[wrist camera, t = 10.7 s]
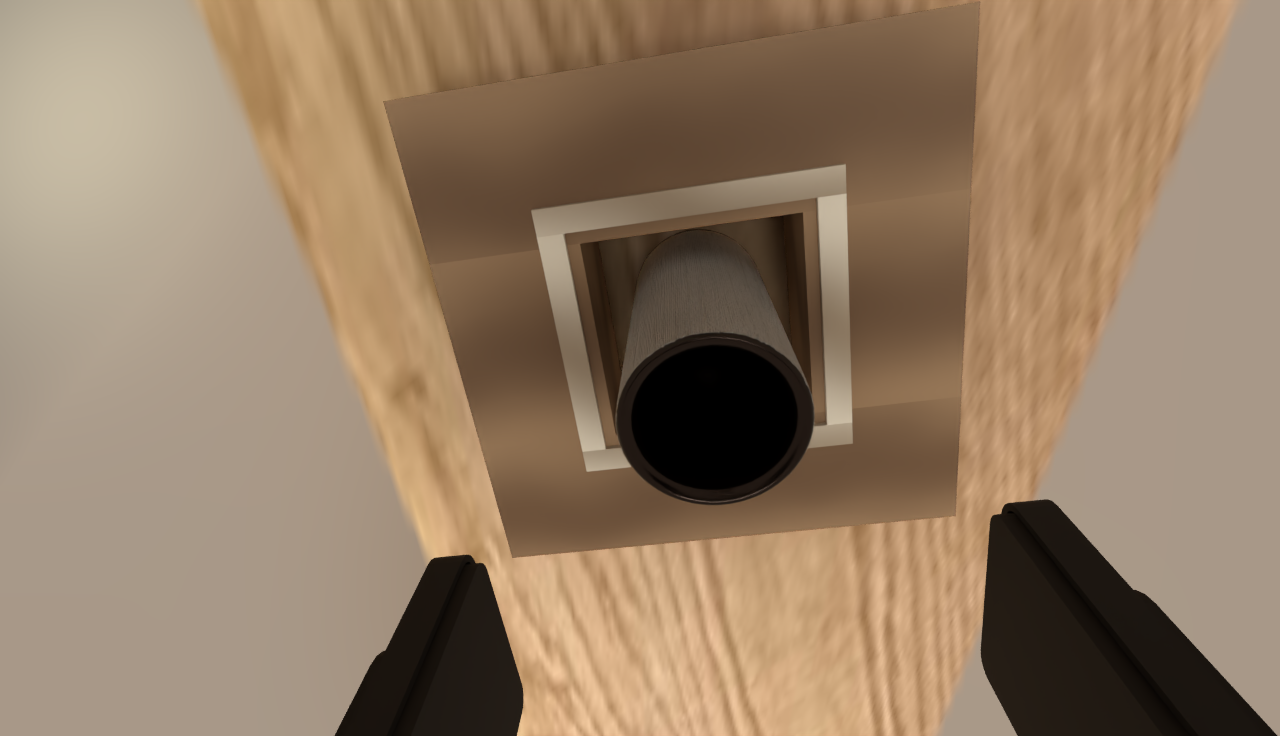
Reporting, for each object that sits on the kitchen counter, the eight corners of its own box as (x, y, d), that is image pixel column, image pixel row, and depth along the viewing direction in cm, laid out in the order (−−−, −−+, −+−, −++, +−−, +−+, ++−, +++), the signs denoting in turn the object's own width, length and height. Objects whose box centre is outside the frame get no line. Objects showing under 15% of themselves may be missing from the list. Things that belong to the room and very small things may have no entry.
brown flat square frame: (430, 97, 22) (380, 101, 18) (924, 14, 20) (983, 0, 17) (532, 495, 28) (511, 561, 25) (916, 455, 27) (957, 519, 23)
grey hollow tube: (630, 234, 24) (603, 341, 14) (758, 222, 23) (816, 323, 14) (642, 351, 25) (626, 513, 16) (761, 342, 25) (815, 502, 16)
